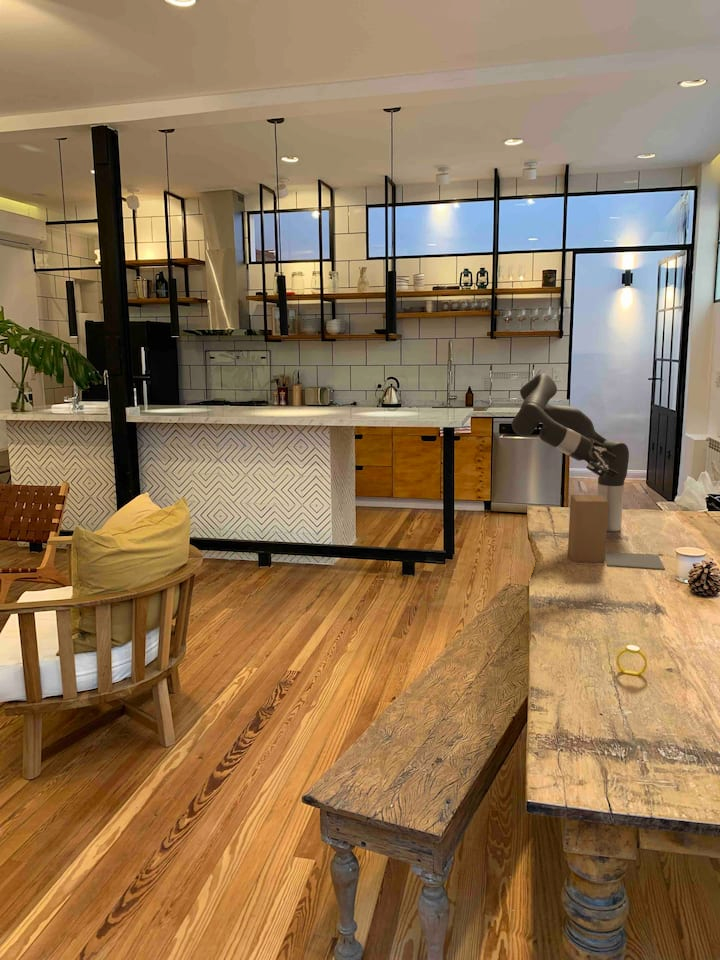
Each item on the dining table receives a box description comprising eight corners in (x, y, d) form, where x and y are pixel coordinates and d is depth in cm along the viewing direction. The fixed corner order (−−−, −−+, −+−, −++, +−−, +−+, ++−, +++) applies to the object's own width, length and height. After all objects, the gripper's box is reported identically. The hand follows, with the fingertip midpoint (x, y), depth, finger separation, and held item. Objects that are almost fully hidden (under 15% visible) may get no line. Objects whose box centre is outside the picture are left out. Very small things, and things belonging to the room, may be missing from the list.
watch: (645, 674, 154) (649, 648, 152) (644, 679, 151) (649, 653, 150) (615, 667, 156) (619, 642, 154) (614, 673, 153) (618, 647, 152)
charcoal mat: (603, 552, 241) (603, 551, 241) (657, 556, 237) (657, 554, 237) (607, 565, 227) (607, 564, 227) (664, 569, 223) (665, 568, 223)
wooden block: (598, 553, 240) (601, 495, 236) (605, 562, 230) (609, 501, 226) (567, 553, 241) (570, 494, 237) (573, 562, 231) (576, 501, 227)
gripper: (564, 438, 232) (606, 461, 234) (565, 465, 221) (609, 489, 224) (578, 422, 227) (621, 445, 230) (580, 449, 216) (625, 473, 219)
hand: (615, 467), depth 227 cm, fingers open, 8 cm apart
